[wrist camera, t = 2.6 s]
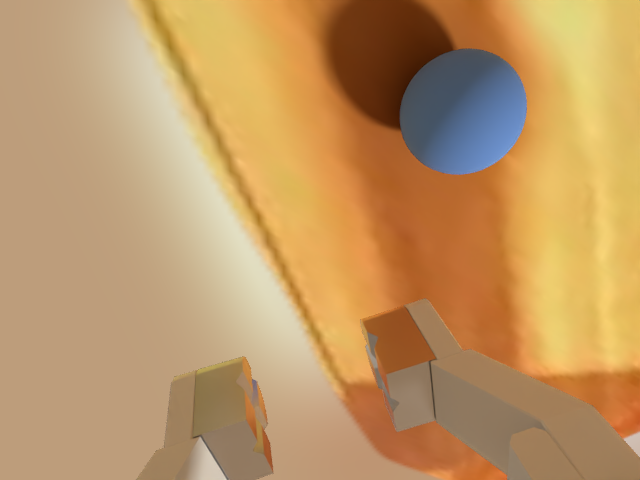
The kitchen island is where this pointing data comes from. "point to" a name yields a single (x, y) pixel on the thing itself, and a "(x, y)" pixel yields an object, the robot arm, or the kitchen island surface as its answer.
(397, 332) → the robot arm
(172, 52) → the kitchen island surface
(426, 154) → the ball
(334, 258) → the kitchen island surface
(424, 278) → the kitchen island surface
